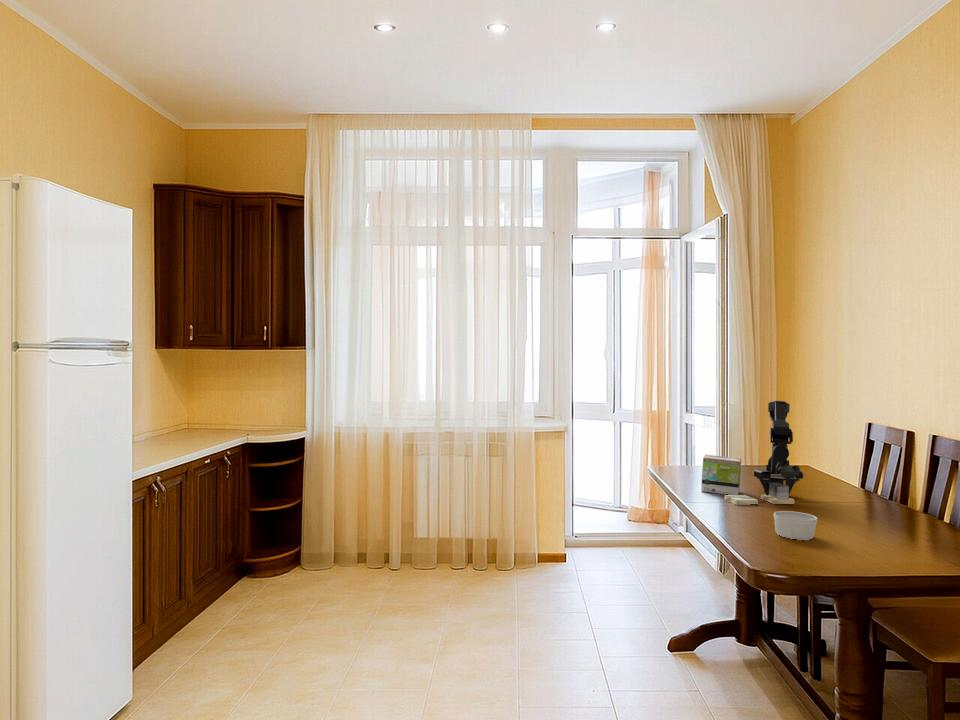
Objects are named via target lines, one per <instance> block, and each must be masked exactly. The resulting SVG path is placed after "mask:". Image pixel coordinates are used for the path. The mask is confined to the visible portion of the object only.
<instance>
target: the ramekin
mask: <svg viewBox="0 0 960 720" xmlns="http://www.w3.org/2000/svg"><path fill="white" fill-rule="evenodd" d="M773 518H774V530H775V533H776V534H777V536H779V535H780V536H782V537H781V538H783V537H786V538H785V539H787V538H790V539H789V540H792V539H797V540H796V541H802V540H804V541H810V539H811V540H812V539H813V538H814V536H815V533H816V527H817V523H818V517H817V516H815V515H813V514H810V513H805V512H802V511H801V512H799V511H794V510H793V511H791V510H779V511H775V512H773ZM780 536H779V537H780Z"/></svg>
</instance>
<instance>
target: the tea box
mask: <svg viewBox="0 0 960 720" xmlns="http://www.w3.org/2000/svg"><path fill="white" fill-rule="evenodd" d="M741 467H742V458H739V457H732V456H731V457H730V456H723V455H712V454H705V455H704V456H703V458H702V469H701V471H702V472H701V473H702V474H701V485H700V487H701V488H700V490H701V493H705V492H706V493H713V494H720V495H726V494H728V495H739V492H740V485H741V469H742V468H741Z"/></svg>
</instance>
